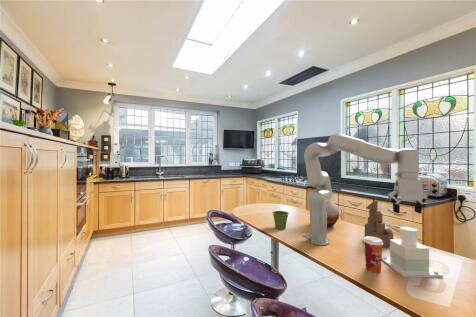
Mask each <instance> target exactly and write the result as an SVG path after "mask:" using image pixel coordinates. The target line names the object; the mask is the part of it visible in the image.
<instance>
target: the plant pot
mask: <svg viewBox="0 0 476 317" xmlns="http://www.w3.org/2000/svg"><path fill="white" fill-rule="evenodd" d="M289 214H290V213H289V212H288V211H286V210H285V211H284V210H274V211H272V216H273V221H274V227H275V229H277V230H283V231H284V230H285V229H286V227H287V221H288V217H289Z"/></svg>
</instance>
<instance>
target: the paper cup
mask: <svg viewBox="0 0 476 317" xmlns="http://www.w3.org/2000/svg"><path fill="white" fill-rule="evenodd" d="M363 244H364V256H365V257H364V258H365V268H366V270H367V271H368V272H371V273H376V274H379V273H381V272H382V262H383V261H382V257H383V246H382V245H383V242H382V240H381V239H380V238H377V237H372V236H366V237H365V236H364V238H363Z"/></svg>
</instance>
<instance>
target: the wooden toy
mask: <svg viewBox="0 0 476 317" xmlns="http://www.w3.org/2000/svg"><path fill="white" fill-rule="evenodd" d="M378 207H379V206H378V200H373V201H372V202H371V203H370V204H368V206H366V207H365V209H366V210H368V214H369V215H368V216H367V223H365V224H364V238H365V237H366V236H372V237H377V238H380V239H381V240H382V242H383V245H382V248H390V239H394V232H393V231H392V229H391V228H390V227H388V226H386V222H384V221H383V219H384V217H383V214H382V212H381V210H378Z"/></svg>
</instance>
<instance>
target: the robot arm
mask: <svg viewBox="0 0 476 317" xmlns="http://www.w3.org/2000/svg"><path fill="white" fill-rule="evenodd" d="M340 151H342V152H345V153H348V154H351V155H353V156H356V157H358V158H359V157H360V158H362V159H365V160H367V161H370V162H374V163H377V164H381V165H392V164H393V165H394V164H397V172H396V173H395V176H396V177H397V178H396V179H395V181H394V188H393V191H391V192H389V193H387V194H386V195H387V197H388V200H389V201H390V202H391V203H392V210H393V212H394V213H395V214H400V210H401V209H400V208H401V207H400V203H401V201H402V202H403V201H404V202H415V203H414V212H415V213H417V214H423V213H422V212H423V211H422V209H423V205H424V204H425V202H426V201H427V198H428V197H429V195H428V194H427V193H425V192H424V191H423V186H422V184H423V183H422V180H421V178H419V169H420V168H419V164H420V163H419V160H420V158H419V157H420V152H419V150H418V149H417V148H401V149H398V148H397V149H395V148H386V147H383V146H379V145H376V144H371V143H368V142H366V141H365V140H363V139H360V138H356V137H352V136H349V135H346V134H341V133H334V134H331V135H330V136H329V138H328V140H327V141H326V142H313V143H311V144H309V145H308V146H307V147H306V148H305V150H304V153H303V158H304V163H305V164H304V165H305V170H306V178H307V182H308V185H309V186H311V187H312V188H316V189H313V190H311V191H310V192H309V194H308V198H307V199H308V200H307V201H308V204H309V232H308V233H306V234H305V233H301V235H302V236H301V237H302V238H305V239H307V242H308V243H310V244H312V245H316V246H328V245H329V244H330V243H331V241H330V239H329V238H328V229H327V228H328V227H327V212H326V207H325V203H328V202H329V201H332V198H333V189H332V184H331V178H330V176H329V174H328V173H327V172H326V171H323V170H322V168H321V163H320V160H319V158H320V157H322V158H323V157H328V156H330V155H334V154H335V153H339V152H340Z"/></svg>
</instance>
